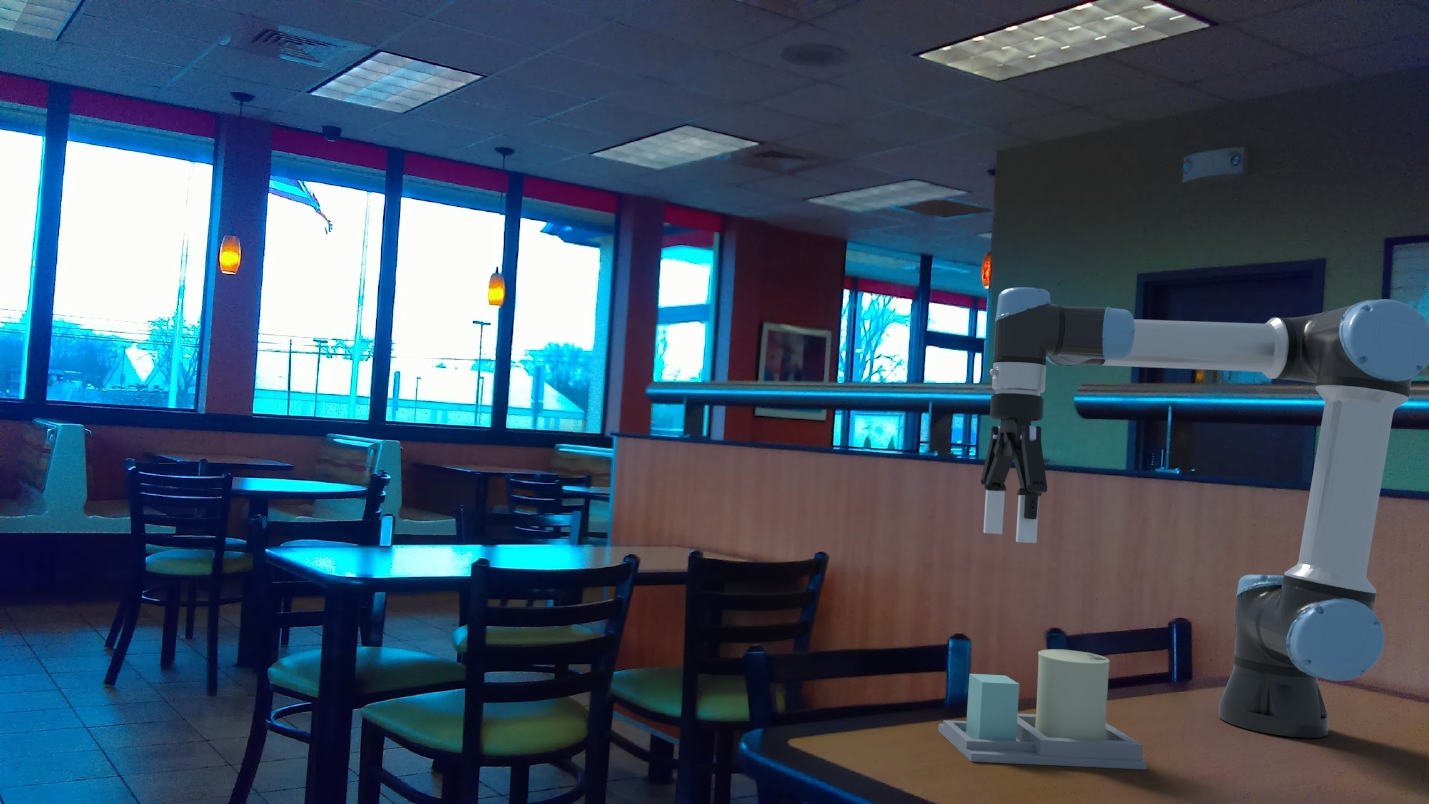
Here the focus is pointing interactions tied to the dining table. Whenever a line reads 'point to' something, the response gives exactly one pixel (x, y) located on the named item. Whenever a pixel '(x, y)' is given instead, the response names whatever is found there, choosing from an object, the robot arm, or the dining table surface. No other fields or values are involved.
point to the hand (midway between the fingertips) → (1008, 538)
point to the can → (1072, 694)
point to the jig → (1047, 747)
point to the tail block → (992, 707)
